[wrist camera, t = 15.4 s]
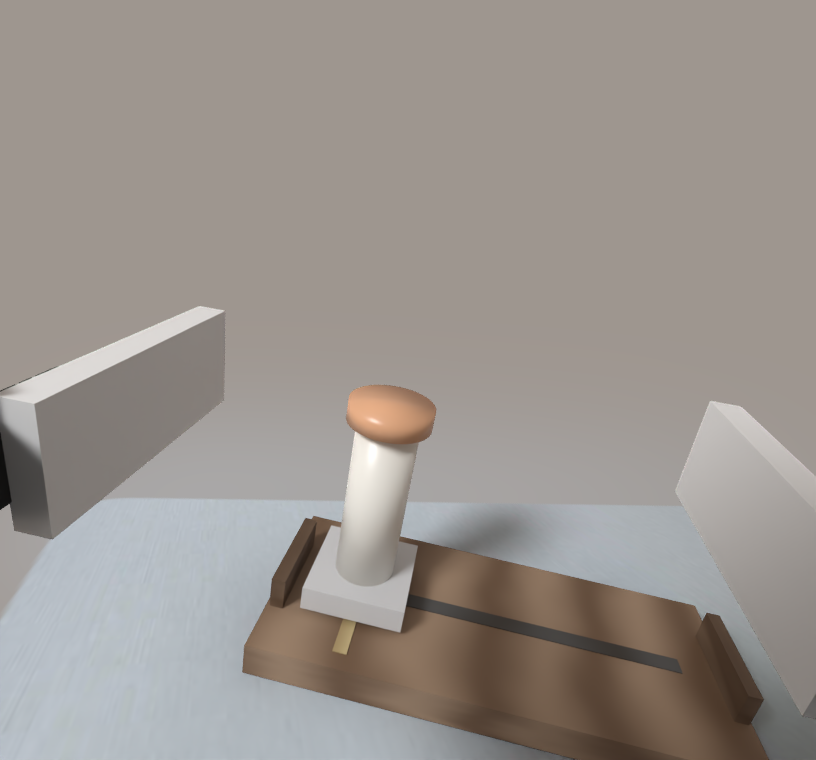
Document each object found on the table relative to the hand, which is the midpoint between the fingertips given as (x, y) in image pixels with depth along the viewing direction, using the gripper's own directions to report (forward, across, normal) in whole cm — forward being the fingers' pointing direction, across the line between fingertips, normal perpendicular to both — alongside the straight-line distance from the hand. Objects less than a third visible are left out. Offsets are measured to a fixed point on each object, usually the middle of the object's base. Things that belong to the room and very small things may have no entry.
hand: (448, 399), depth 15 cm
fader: (+13, -3, -19) cm, 23 cm away
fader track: (+13, +6, -22) cm, 26 cm away
